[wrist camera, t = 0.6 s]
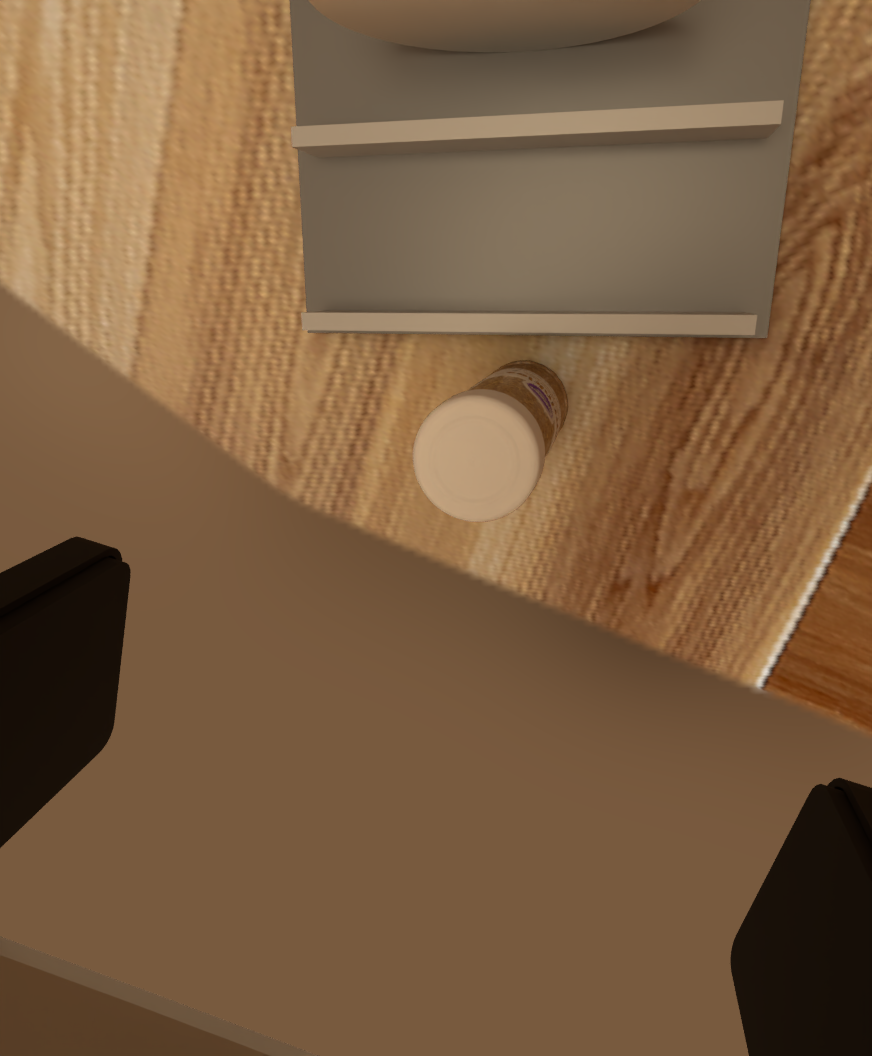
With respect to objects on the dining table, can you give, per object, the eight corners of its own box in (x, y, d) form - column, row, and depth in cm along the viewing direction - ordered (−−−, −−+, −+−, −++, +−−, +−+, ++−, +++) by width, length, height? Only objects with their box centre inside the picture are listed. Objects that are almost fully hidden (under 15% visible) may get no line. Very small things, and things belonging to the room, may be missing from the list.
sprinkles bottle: (586, 396, 37) (567, 452, 25) (530, 466, 39) (486, 551, 27) (514, 339, 37) (459, 368, 25) (461, 412, 39) (385, 472, 27)
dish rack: (818, -110, 30) (995, -468, 15) (762, 336, 35) (855, 372, 21) (297, -53, 34) (70, -284, 20) (316, 331, 40) (147, 357, 26)
